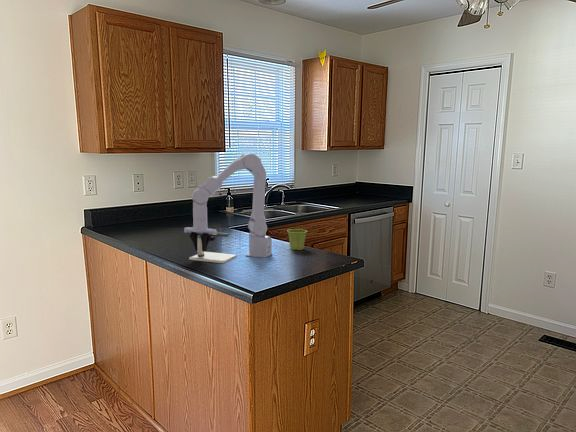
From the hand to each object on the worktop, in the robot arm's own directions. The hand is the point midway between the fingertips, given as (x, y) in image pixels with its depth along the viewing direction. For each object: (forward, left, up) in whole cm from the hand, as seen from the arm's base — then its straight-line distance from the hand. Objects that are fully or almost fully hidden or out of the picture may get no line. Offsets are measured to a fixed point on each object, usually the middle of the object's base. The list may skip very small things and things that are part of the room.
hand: (201, 250), depth 177 cm
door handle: (+21, -44, -4) cm, 49 cm away
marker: (0, 0, -2) cm, 2 cm away
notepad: (-3, -4, -4) cm, 6 cm away
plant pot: (-30, -34, -4) cm, 46 cm away
